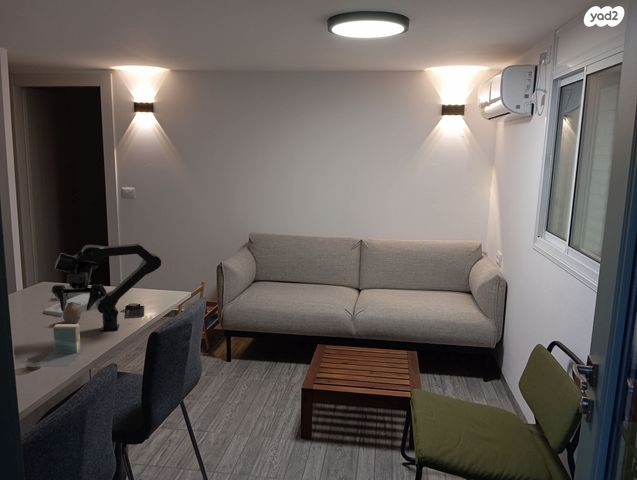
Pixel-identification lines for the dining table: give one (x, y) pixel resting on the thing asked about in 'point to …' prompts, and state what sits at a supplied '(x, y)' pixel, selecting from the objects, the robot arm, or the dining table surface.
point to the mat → (59, 359)
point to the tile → (66, 338)
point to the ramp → (79, 301)
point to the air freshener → (73, 293)
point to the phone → (135, 313)
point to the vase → (71, 313)
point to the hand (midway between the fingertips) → (74, 310)
